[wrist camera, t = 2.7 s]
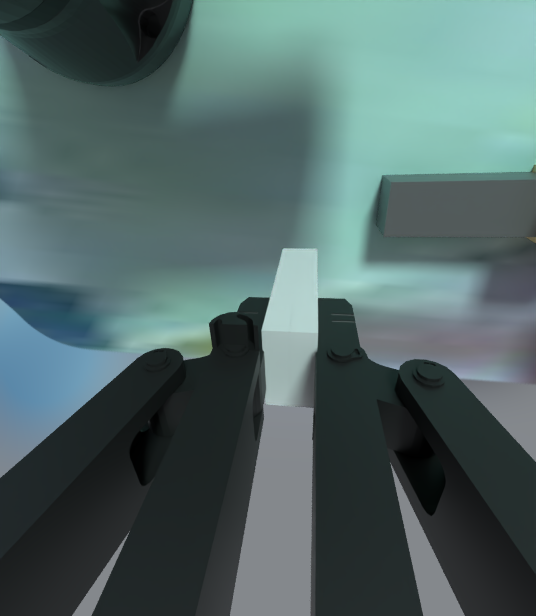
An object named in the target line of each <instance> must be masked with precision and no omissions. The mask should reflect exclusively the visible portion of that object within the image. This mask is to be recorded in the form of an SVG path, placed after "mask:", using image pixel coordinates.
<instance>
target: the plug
mask: <svg viewBox="0 0 536 616" xmlns="http://www.w3.org/2000/svg"><path fill="white" fill-rule="evenodd" d="M376 225H377V227H378V228H379V230H380V232H381V233H382V235H383V237H525V238H527V239H529V240H531V241H533V242H534V243H536V165H534V167H533V170H532V172H506V173H460V174H414V175H383V176H382V184H381V192H380V200H379V207H378V215H377V223H376Z"/></svg>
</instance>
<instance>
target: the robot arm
mask: <svg viewBox="0 0 536 616" xmlns="http://www.w3.org/2000/svg"><path fill="white" fill-rule="evenodd" d="M191 4H192V0H0V35H1V36H2V37H4V38H5V39H6V40H8V41H9V42H11V43H12V44H13V45H15V46H16V47H18V48H19V49H21V50H22V51H24V52H25V53H26V54H28V55H29V56H30V57H31V58H33V59H34V60H36V61H37V62H38V63H40V64H41V65H43V66H45V67H46V68H48V69H50V70H51V71H53V72H55V73H57V74H60V75H62V76H64V77H67V78H69V79H72V80H75V81H79V82H84V83H90V84H96V85H101V86H121V85H127V84H131V83H134V82H136V81H139V80H141V79H143V78H145V77H146V76H148V75H150V74H151V73H152V72H154V71H155V70H156V69H157V68H158V67H160V66H161V64H162V63H163V62H164V61H165V60H166V59H167V58H168V56H169V55H170V54H171V52H172V51H173V49H174V48H175V46H176V44H177V43H178V41H179V39H180V37H181V35H182V32H183V30H184V27H185V25H186V22H187V19H188V16H189V12H190V8H191ZM209 327H210V334H211V340H212V347H213V349H212V351H211V354H210V355H208V356H205V357H201V358H196V359H189V360H183V356H182V355H181V353H180V352H179V351H177V350H174V349H169V348H161V349H155V350H152V351H149V352H147V353H145V354H143V355H142V356H140V357H139V358H137V359H136V360H135V361H134V362H133V363H132V364H130V365H129V366H128V367H127V368H126V369H125V370H124V371H122V372H121V373H120V374H119V375H118V376H117V377H116V378H114V379H113V380H112V381H111V382H110V383H109V384H108V385H107V386H105V387H104V388H103V389H102V390H101V391H100V392H98V393H97V394H96V395H95V396H94V397H93V398H91V400H89V401H88V402H87V403H86V404H85V405H83V406H82V407H81V408H80V409H79V410H78V411H77V412H75V413H74V414H73V415H72V416H71V417H70V418H69V419H68V420H66V421H65V422H64V423H63V424H62V425H61V426H59V427H58V428H57V429H56V430H55V431H54V432H53V433H51V434H50V435H49V436H48V437H47V438H46V439H45V440H44V441H42V442H41V443H40V444H39V445H38V446H37V447H35V448H34V449H33V450H32V451H31V452H30V453H29V454H28V455H26V456H25V457H24V458H23V459H22V460H21V461H19V462H18V463H17V464H16V465H15V466H14V467H13V468H11V469H10V470H9V471H8V472H7V473H6V474H5V475H3V476H2V477H1V478H0V616H72V614H73V613H74V612H75V610H76V609H77V607H78V606H79V604H80V603H81V601H82V600H83V598H84V597H85V596H86V594H87V593H88V591H89V589H90V588H91V587H92V585H93V584H94V582H95V581H96V579H97V578H98V576H99V575H100V574H101V572H102V571H103V569H104V568H105V566H106V565H107V563H108V562H109V560H110V559H111V557H112V556H113V554H114V553H115V551H116V550H117V549H118V547H119V545H120V544H121V543H122V541H123V540H124V538H125V537H126V535H127V534H128V533H129V535H128V537H127V539H126V541H125V543H124V546H123V548H122V550H121V552H120V554H119V557H118V559H117V561H116V563H115V566H114V568H113V570H112V572H111V574H110V576H109V579H108V581H107V583H106V585H105V588H104V590H103V592H102V594H101V596H100V599H99V601H98V603H97V605H96V608H95V610H94V612H93V614H92V616H230V610H231V605H232V599H233V593H234V587H235V582H236V575H237V570H238V564H239V558H240V553H241V547H242V541H243V535H244V530H245V524H246V518H247V512H248V506H249V500H250V495H251V489H252V483H253V478H254V472H255V466H256V460H257V455H258V449H259V443H260V437H261V431H262V426H263V420H264V414H263V404H264V398H265V402H266V404H267V405H281V406H295V407H310V408H314V415H313V437H312V440H313V475H312V476H313V479H312V551H311V616H423V613H422V608H421V603H420V599H419V594H418V589H417V585H416V580H415V576H414V571H413V566H412V562H411V557H410V552H409V548H408V543H407V538H406V534H405V529H404V524H403V520H402V515H401V511H400V506H399V501H398V497H397V492H396V487H395V483H394V478H393V473H392V469H391V464H392V466H393V468H394V471H395V473H396V474H397V477H398V479H399V481H400V483H401V485H402V487H403V489H404V491H405V493H406V495H407V497H408V499H409V501H410V504H411V506H412V508H413V510H414V512H415V514H416V516H417V518H418V520H419V522H420V524H421V526H422V528H423V530H424V532H425V534H426V536H427V539H428V541H429V543H430V545H431V546H432V549H433V551H434V553H435V555H436V557H437V559H438V561H439V563H440V565H441V567H442V569H443V571H444V574H445V576H446V578H447V580H448V582H449V584H450V586H451V588H452V590H453V592H454V594H455V596H456V598H457V600H458V602H459V604H460V607H461V609H462V610H463V613H464V615H465V616H536V462H535V461H534V460H533V459H532V457H531V456H530V455H529V454H528V453H527V452H526V451H525V450H524V449H523V448H522V447H521V445H520V444H519V443H518V442H517V441H516V440H515V439H514V438H513V437H512V436H511V435H510V434H509V432H508V431H507V430H506V429H505V428H504V427H503V426H502V425H501V424H500V423H499V422H498V421H497V420H496V418H495V417H494V416H493V415H492V414H491V413H490V412H489V411H488V410H487V408H485V406H484V405H483V404H482V403H481V402H480V401H479V400H478V399H477V398H476V397H475V395H474V394H473V393H472V392H471V391H470V390H469V389H468V388H467V387H466V386H465V385H464V383H463V382H462V381H461V380H460V379H459V378H458V377H457V376H456V375H455V374H454V373H453V372H452V371H450V370H449V369H448V368H447V367H445V366H443V365H441V364H438V363H436V362H433V361H428V360H420V359H414V360H410V361H406V362H405V363H403V364H402V365H401V366H400V369H399V370H396V369H393V368H389V367H385V366H382V365H379V364H377V363H375V362H373V361H371V360H370V359H368V357H367V354H366V353H365V351H364V349H362V348H361V347H360V344H359V339H358V333H357V328H356V323H355V318H354V313H353V308H352V305H351V304H350V303H349V302H348V301H347V300H346V299H333V298H318V265H317V249H289V248H283V251H282V254H281V258H280V262H279V266H278V270H277V273H276V277H275V281H274V285H273V289H272V292H271V296H270V298H259V297H248V298H247V299H246V300H245V301H243V302H242V303H241V304H240V306H239V309H238V311H237V312H230V313H226V314H222V315H219V316H217V317H216V318H214V319H213V320H212V321H211V322H210V323H209ZM390 462H391V464H390ZM129 531H130V532H129Z"/></svg>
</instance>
